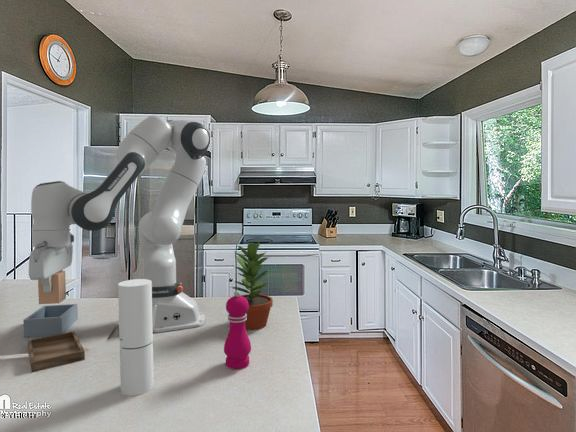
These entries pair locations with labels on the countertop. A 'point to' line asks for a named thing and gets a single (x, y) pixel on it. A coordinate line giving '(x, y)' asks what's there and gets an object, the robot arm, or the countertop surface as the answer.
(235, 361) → the pepper mill
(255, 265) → the potted plant
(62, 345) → the tray
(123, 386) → the cylindrical container
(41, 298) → the block
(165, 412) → the countertop surface
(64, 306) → the blue-grey storage bin
